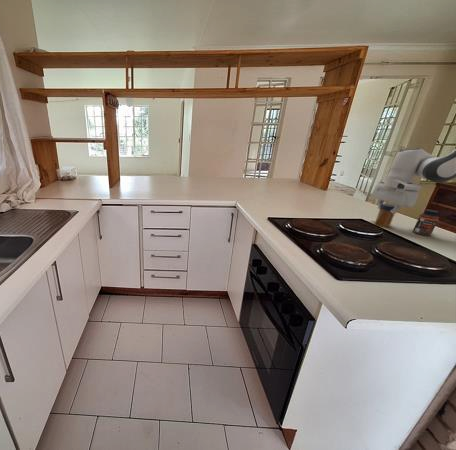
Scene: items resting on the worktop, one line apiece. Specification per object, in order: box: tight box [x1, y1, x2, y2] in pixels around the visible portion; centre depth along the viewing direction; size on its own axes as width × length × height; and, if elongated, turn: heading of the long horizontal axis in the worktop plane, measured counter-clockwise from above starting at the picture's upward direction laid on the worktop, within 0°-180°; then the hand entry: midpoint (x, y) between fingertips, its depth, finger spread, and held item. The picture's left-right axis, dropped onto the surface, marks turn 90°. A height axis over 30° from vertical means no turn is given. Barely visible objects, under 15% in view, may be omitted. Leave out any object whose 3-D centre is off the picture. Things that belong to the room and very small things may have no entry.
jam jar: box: [374, 209, 395, 228], centre depth 118 cm, size 6×6×10 cm
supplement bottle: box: [412, 209, 440, 237], centre depth 108 cm, size 6×6×11 cm
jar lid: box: [379, 203, 395, 211], centre depth 116 cm, size 6×6×2 cm
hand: (386, 211), depth 117 cm, fingers closed on jar lid, 6 cm apart
